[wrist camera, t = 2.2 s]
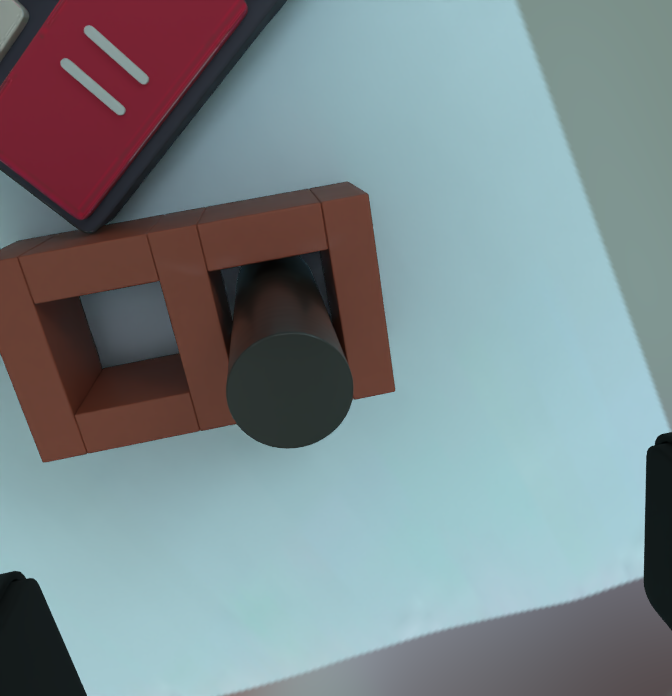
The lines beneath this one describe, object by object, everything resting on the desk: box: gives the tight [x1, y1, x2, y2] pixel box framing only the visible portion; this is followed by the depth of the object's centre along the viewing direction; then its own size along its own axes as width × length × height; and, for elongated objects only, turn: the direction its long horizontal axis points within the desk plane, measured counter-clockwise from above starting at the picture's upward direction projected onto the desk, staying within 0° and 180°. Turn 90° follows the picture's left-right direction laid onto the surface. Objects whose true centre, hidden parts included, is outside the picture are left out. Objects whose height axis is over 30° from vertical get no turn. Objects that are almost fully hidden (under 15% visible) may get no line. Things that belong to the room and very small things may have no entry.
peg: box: [226, 255, 354, 448], centre depth 23 cm, size 4×4×12 cm
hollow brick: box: [0, 182, 395, 462], centre depth 26 cm, size 15×8×5 cm, turn 99°
